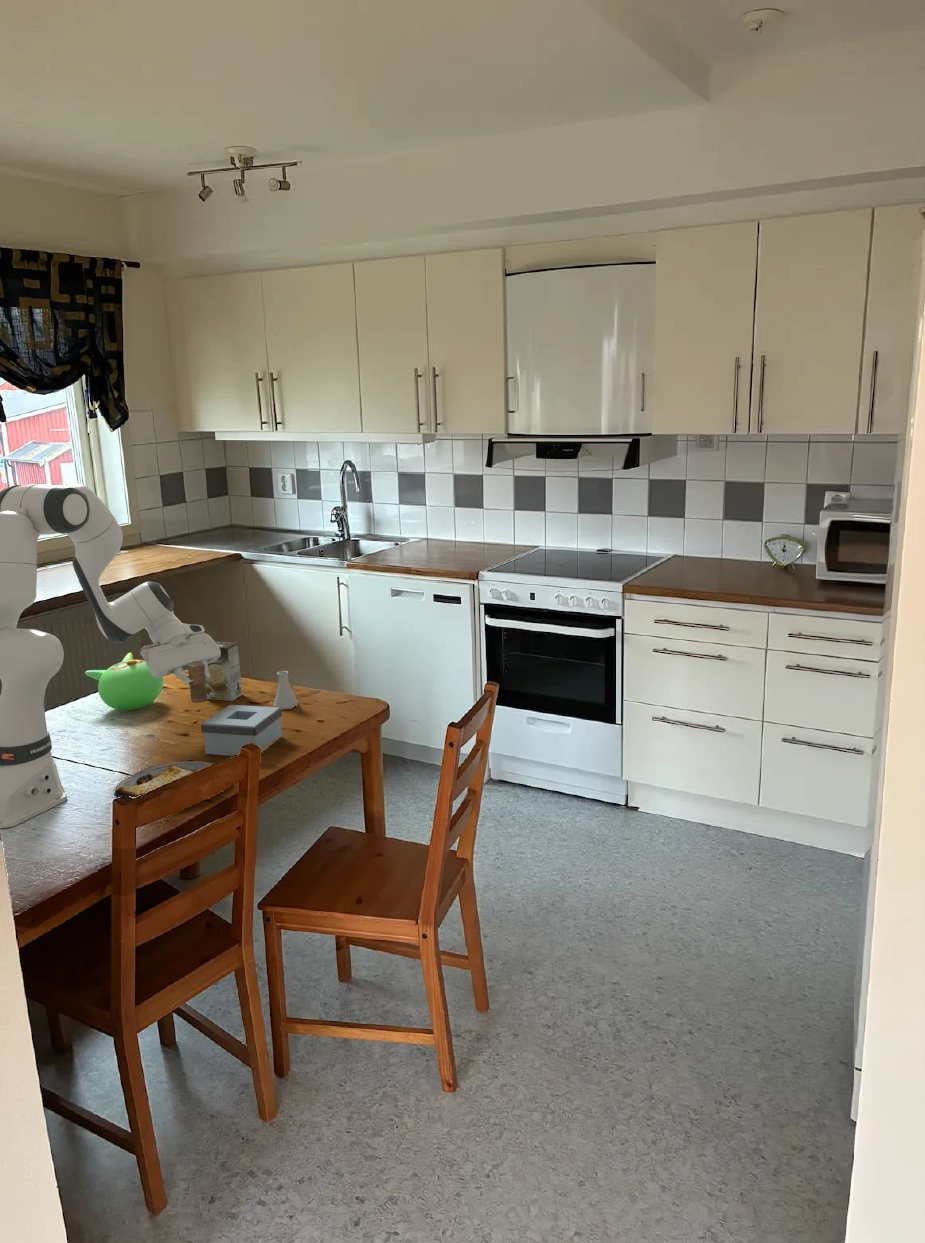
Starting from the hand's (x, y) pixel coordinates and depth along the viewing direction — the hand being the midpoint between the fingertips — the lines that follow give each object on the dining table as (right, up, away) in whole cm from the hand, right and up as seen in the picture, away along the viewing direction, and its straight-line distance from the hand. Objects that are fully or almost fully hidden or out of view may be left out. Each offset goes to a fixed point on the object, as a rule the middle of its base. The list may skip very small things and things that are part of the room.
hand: (198, 680), depth 243 cm
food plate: (+3, -23, -31) cm, 38 cm away
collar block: (+13, -16, -5) cm, 21 cm away
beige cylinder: (0, -5, +2) cm, 5 cm away
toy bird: (-27, -10, +28) cm, 39 cm away
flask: (+18, -9, +24) cm, 31 cm away
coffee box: (-2, -7, +34) cm, 35 cm away
